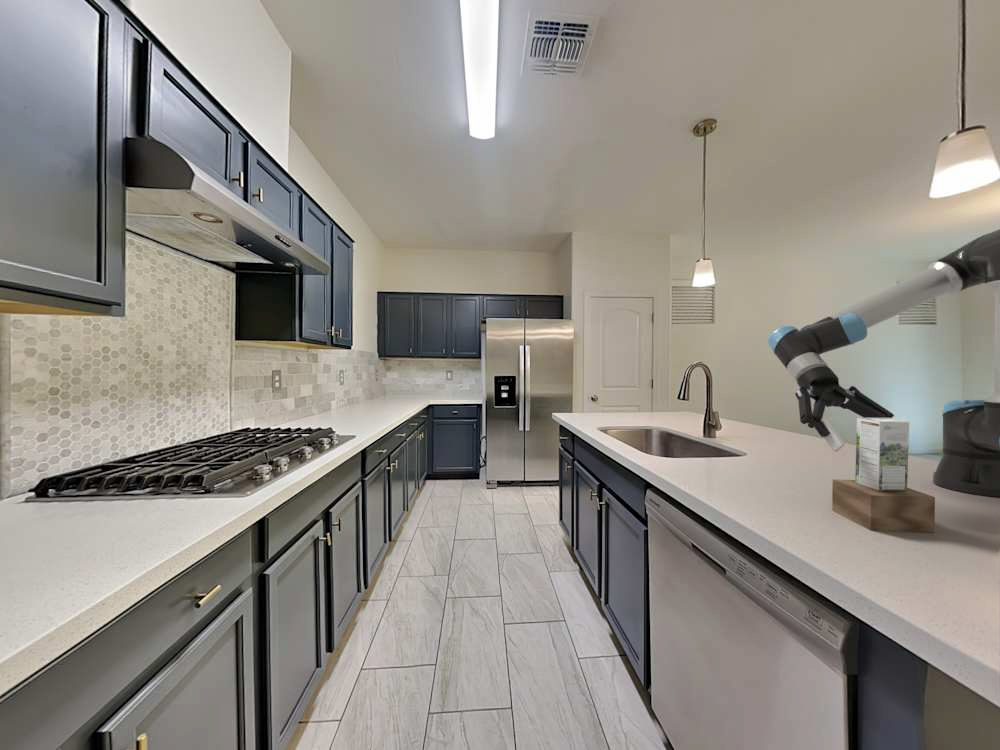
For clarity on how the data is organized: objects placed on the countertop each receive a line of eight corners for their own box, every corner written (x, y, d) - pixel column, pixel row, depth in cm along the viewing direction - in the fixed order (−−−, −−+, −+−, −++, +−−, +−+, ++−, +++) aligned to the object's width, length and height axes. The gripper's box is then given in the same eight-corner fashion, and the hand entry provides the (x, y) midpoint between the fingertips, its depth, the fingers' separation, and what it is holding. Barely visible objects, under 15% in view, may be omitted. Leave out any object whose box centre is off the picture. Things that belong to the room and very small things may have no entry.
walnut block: (887, 512, 88) (887, 480, 87) (934, 533, 77) (934, 497, 76) (832, 510, 89) (832, 479, 89) (870, 530, 78) (871, 495, 78)
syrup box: (881, 483, 86) (882, 416, 85) (909, 492, 80) (909, 420, 79) (854, 483, 86) (855, 416, 86) (879, 492, 80) (880, 420, 80)
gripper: (850, 384, 102) (912, 455, 88) (756, 385, 101) (803, 458, 87) (871, 364, 97) (940, 436, 82) (772, 365, 96) (824, 438, 81)
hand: (870, 447), depth 84 cm, fingers open, 13 cm apart
